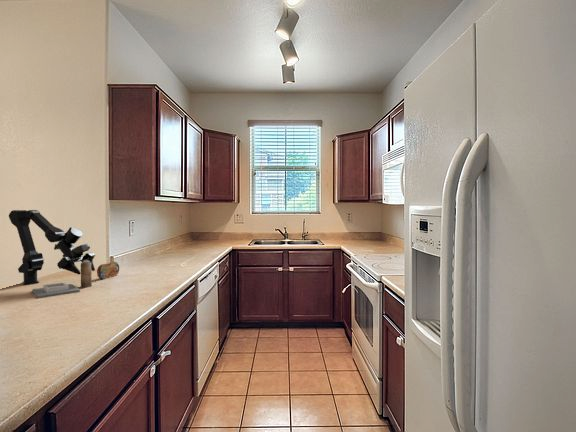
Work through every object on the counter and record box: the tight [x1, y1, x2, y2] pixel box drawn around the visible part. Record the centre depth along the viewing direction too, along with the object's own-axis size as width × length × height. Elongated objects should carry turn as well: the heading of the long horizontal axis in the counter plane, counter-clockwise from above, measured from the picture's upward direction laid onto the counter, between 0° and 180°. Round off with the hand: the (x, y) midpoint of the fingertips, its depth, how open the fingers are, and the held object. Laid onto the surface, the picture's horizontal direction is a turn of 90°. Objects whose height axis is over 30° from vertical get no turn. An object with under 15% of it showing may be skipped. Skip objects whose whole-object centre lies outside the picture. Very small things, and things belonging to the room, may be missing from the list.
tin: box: [96, 261, 120, 280], centre depth 188 cm, size 15×3×8 cm, turn 168°
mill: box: [80, 261, 93, 289], centre depth 166 cm, size 5×5×13 cm
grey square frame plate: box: [31, 281, 81, 299], centre depth 155 cm, size 16×16×3 cm
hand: (87, 272), depth 165 cm, fingers open, 9 cm apart
